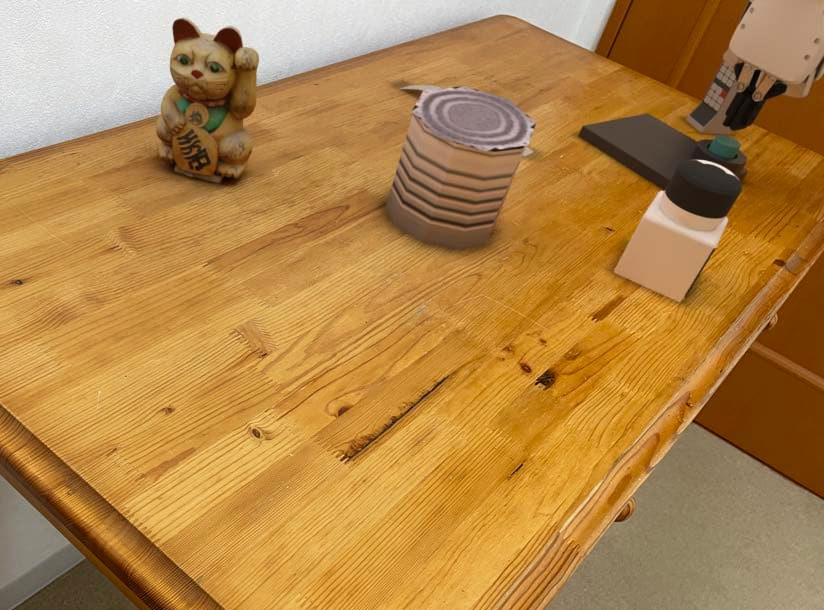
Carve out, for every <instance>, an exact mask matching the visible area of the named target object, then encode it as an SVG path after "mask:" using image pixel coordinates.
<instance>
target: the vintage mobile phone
mask: <svg viewBox="0 0 824 610" xmlns="http://www.w3.org/2000/svg"><path fill="white" fill-rule="evenodd" d="M753 1H754V0H748V1H747V3H746V5H745V8H744V9H743V12H742V14H741V16H740V18H739V21H738V23H737V25H736V27H735V30H734V32H733V34H734V33H735V31H736V29H737V27H738V25H739V24H740V22H741V20H742V18H743V17H744V15H745V14H746V12H747V10H748V9H749V7H750V6H751V4H752V3H753ZM765 74H766V73H765V72H763V74H762V76H761V79H760V81H759V83H758V85H760V84H761V81H762V79H763V77H764V76H765ZM736 84H737V81H736V76H735V72H734V69H733V68H731V67H730V66H729V65H728V64H727V63H726V62H725V61H724V60H723V59H722V62H721V64H720V66H719V68H718V70H717V72H716V73H715V75H714V78H713V80H711V83H710V85H709V87H708V89H707V90H706V92H705V95H704V97H703V98H702V100H701V102H700V103H699V104H698V105H697V106H696V107H695V108H694V109H693V110H692V111H691V112H690V113H689V114H688V116H687V117H686V120H685V121H686V122H687V123H688V124H690V125H691V126H692V127H693V128H695V129H696V130H697V131H698V132H699V133H700V134H712V135H725V136H728V135H729V136H730V135H731V133H732V132H733V131H732V130H731V129H730V127H725V126H724V125H722V124H723V122H724V120H725V118H726V115H725V113H726V111H727V109H728V107H729V105H730V104H731V102H732V100H733V98H734V97H735V95H736V93H737V91H736V88H735V87H736Z"/></svg>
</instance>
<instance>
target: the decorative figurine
mask: <svg viewBox="0 0 824 610" xmlns="http://www.w3.org/2000/svg"><path fill="white" fill-rule="evenodd" d="M171 27H172V29H171V30H172V37H173V43H174V45H173V47H172V51H171V54H170V57H169V58H170V59H169V72H170V75H171V78H172V81H173V83H174V84H173V85H171V86H170V87H169V88H168V89H167V90H166V91H165V93H164V95H163V97H162V99H161V102H160V115H159V117H158V119H157V122H156V126H155V132H156V136H157V138H158V139H159V140H160V141H161V142H160V143H159V148H158V157H159V159H160V161H163V162H165V163H171V164H175V166H174V169H173V170H174V172H176V173H178V174H183V175H185V176H187V177H190V178H197V179H201V180H205V181H208V182H213V183H216V184H220V183H221V182H222V181H223V179H224V177H225V178H233V179H239V178H240V177H241V176H242V175H243V173H244V172H245V171H246V168H247V165H248V161H249V159H250V157H251V155H252V152H253V148H254V145H253V138H252V136H251V134H250V132H249V131H248V130H247V129H246V128H244V120H245V119H247V118H249V117H250V116H251V115H252V113H253V112H254V111H255V109H256V105H257V98H258V97H257V96H258V88H257V85H258V83H257V81H258V80H257V78H258V76H257V73H258V72H257V71H258V67H259V63H260V55H259V53H258V52H257V50H255V49H254V48H253V47H248V46H244V44H243V43H244V42H243V37H242V34H241V31H240V30H239V29H238V28H237V27H236V26H234V25H227V26H224V27H222V28H221V29H219V31H218V32H217V33H216V34H211V33H206V32H205V33H203V32H202V31H201V30H200V28H199V27H198V25H196V23H195V22H194V21H192V20H191V19H189V18H187V17H179V18H177V19H175V20H174V21H173V23H172V26H171Z"/></svg>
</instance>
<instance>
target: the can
mask: <svg viewBox="0 0 824 610" xmlns="http://www.w3.org/2000/svg"><path fill="white" fill-rule="evenodd" d="M441 88H442V89H434V90H425V91H422V93H421V94H420V96H419V98H418V100H417V101H416V103H415V104H414V106H413V108H412V109H411V112H412V116H411V119H410V121H409V122H410V123H409V125H408V130H407V132H406V136H405V140H404V143H403V147H402V150H401V154H400V157H399V160H398V164H397V167H396V171H395V174H394V177H393V181H392V184H391V188H390V192H389V194H388V198H387V201H386V205H385V209H386V211H387V212H388V215H389V216H390V219H391V220H392V222H393V225H394V226H395V228H398V230H401V231H402V232H404V233H406V234H408V235H409V236H411V237H412V238H414V239H416V240H417V241H419V242H421V243H422V244H426V245H431V246H434V247H435V246H436V247H440V248H445V249H449V250H454V251H463V250H469V249H473V248H479V247H484V246H486V244H487V242H488V240H489V238H490V237H491V235H492V233H493V231H494V228H495V227H496V225H497V221H498V219H499V216H500V214H501V211H502V208H503V206H504V203H505V201H506V198H507V196H508V193H509V191H510V189H511V186H512V183H513V180H514V179H515V175H516V173H517V171H518V168H519V166H520V163H521V161H522V158H523V157H524V156H523V153H524V151H525V148H526V146H527V147H528V146H529V144H530V141H531V139H532V137H533V133H534V131H535V129H536V125H537V122H536V121H535V120H534V119H533V118H532V117H531V116H530V115H528V114H527V113H526V112H525V111H523V109H522V108H520V107H519V106H518V105H517V104H516V103H514V102H513V101H512V100H511V99H510V98H507V97H504V96H500V95H497V94H493V93H490V92H487V91H483V90H480V89H475V88H472V87H468V86H465V85H460V86H452V87H444V88H443V87H441Z"/></svg>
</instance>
